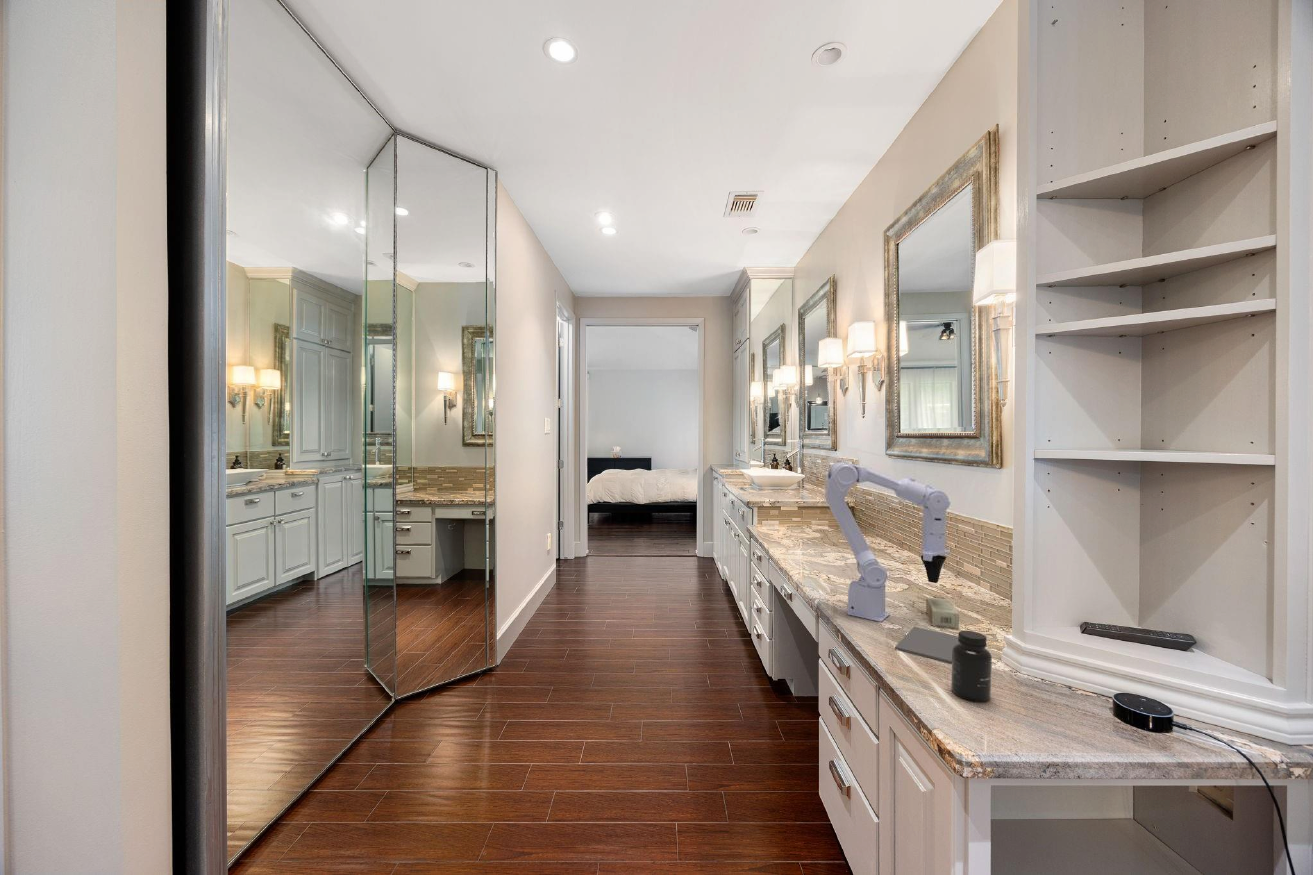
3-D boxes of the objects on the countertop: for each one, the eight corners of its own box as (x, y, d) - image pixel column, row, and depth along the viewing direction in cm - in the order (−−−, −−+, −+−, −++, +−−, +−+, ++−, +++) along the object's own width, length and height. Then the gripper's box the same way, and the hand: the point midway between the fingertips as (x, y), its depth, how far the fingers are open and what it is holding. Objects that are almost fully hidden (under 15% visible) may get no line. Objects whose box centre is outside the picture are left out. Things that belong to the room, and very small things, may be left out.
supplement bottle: (990, 706, 103) (992, 644, 103) (950, 696, 107) (951, 636, 106) (991, 691, 109) (992, 632, 108) (952, 682, 112) (953, 625, 112)
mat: (894, 649, 129) (895, 646, 129) (914, 628, 142) (914, 626, 142) (961, 666, 120) (961, 663, 120) (975, 642, 134) (975, 640, 133)
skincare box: (959, 629, 142) (951, 614, 153) (959, 613, 142) (951, 599, 153) (931, 626, 144) (925, 611, 156) (932, 610, 144) (926, 596, 156)
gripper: (944, 539, 141) (943, 590, 141) (955, 531, 152) (954, 579, 152) (915, 535, 145) (914, 585, 146) (928, 527, 156) (927, 574, 157)
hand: (933, 582), depth 149 cm, fingers closed
